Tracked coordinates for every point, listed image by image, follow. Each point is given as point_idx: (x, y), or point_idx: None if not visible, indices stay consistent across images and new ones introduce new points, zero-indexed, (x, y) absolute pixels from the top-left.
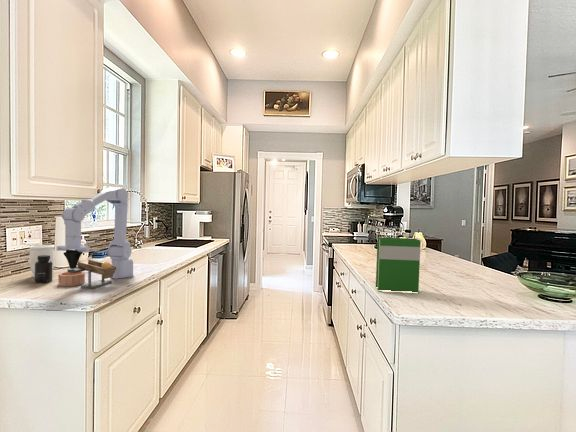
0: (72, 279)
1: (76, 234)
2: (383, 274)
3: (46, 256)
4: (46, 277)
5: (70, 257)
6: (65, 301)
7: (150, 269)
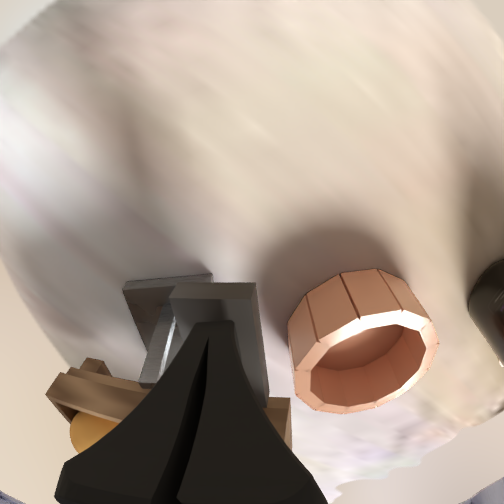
0: (314, 319)
1: None
2: None
3: None
4: (490, 297)
5: (165, 434)
6: (28, 27)
7: None
